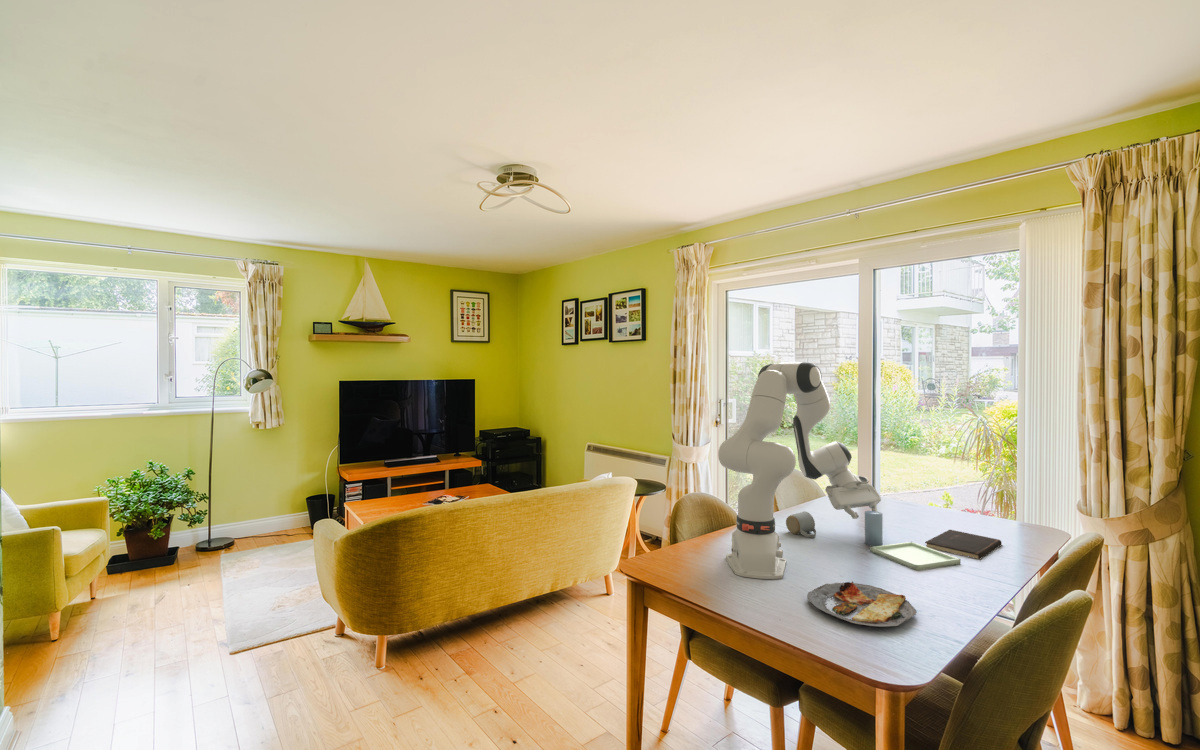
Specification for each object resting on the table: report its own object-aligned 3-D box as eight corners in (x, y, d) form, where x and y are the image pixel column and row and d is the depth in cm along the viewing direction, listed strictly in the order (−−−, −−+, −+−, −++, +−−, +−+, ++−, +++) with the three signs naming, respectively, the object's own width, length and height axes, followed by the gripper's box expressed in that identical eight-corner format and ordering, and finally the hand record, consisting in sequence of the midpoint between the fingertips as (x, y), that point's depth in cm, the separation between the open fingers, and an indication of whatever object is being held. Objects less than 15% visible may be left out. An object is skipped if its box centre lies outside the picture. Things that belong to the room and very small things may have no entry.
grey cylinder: (884, 547, 184) (884, 515, 183) (867, 545, 185) (867, 514, 185) (879, 541, 189) (879, 511, 189) (862, 540, 190) (862, 510, 190)
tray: (870, 551, 179) (870, 546, 179) (911, 545, 185) (911, 541, 184) (916, 570, 162) (916, 565, 162) (960, 563, 167) (960, 559, 167)
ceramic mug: (784, 531, 202) (784, 511, 201) (800, 528, 205) (800, 509, 205) (805, 540, 192) (806, 519, 192) (822, 536, 196) (822, 516, 195)
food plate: (842, 582, 153) (842, 570, 153) (930, 612, 134) (930, 598, 134) (792, 608, 138) (792, 594, 138) (883, 645, 119) (883, 630, 119)
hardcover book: (924, 548, 184) (924, 541, 184) (949, 535, 198) (949, 529, 198) (979, 561, 171) (979, 554, 171) (1001, 546, 185) (1001, 540, 185)
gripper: (827, 481, 193) (848, 515, 184) (870, 477, 200) (892, 509, 191) (819, 491, 198) (839, 524, 188) (861, 486, 204) (882, 518, 195)
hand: (866, 516), depth 190 cm, fingers open, 8 cm apart
